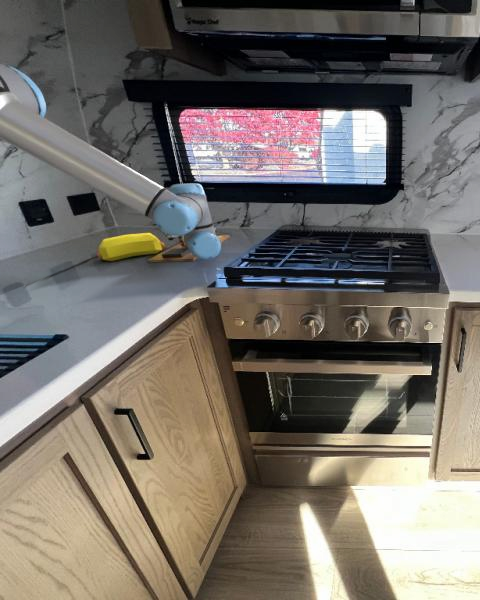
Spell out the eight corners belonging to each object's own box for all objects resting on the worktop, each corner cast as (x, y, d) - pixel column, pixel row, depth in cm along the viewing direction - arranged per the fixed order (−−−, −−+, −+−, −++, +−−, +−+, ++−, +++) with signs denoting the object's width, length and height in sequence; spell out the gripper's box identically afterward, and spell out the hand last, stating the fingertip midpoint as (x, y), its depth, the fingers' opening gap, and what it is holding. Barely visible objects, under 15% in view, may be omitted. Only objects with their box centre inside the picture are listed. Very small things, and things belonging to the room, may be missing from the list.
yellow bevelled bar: (99, 258, 107) (99, 264, 101) (90, 238, 104) (89, 243, 98) (165, 247, 117) (167, 252, 111) (158, 228, 114) (161, 232, 108)
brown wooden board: (147, 262, 102) (145, 256, 101) (193, 238, 127) (191, 233, 126) (193, 261, 103) (191, 254, 102) (230, 237, 128) (228, 232, 127)
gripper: (161, 255, 95) (154, 239, 111) (234, 242, 106) (218, 229, 122) (152, 229, 92) (146, 216, 108) (228, 218, 102) (212, 208, 119)
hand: (184, 223), depth 115 cm, fingers open, 7 cm apart
